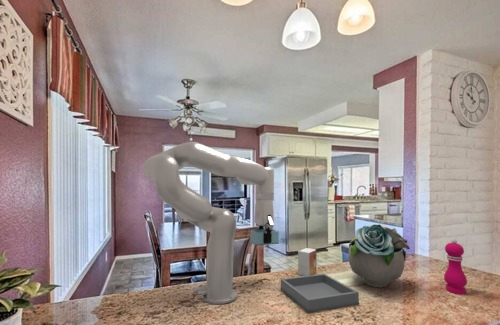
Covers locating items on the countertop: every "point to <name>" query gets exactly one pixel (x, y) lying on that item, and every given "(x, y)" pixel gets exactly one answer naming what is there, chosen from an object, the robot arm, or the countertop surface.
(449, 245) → the pepper mill
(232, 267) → the robot arm
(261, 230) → the small crate
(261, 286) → the countertop surface
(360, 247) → the flower arrangement
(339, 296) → the gray square tray
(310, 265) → the small box
